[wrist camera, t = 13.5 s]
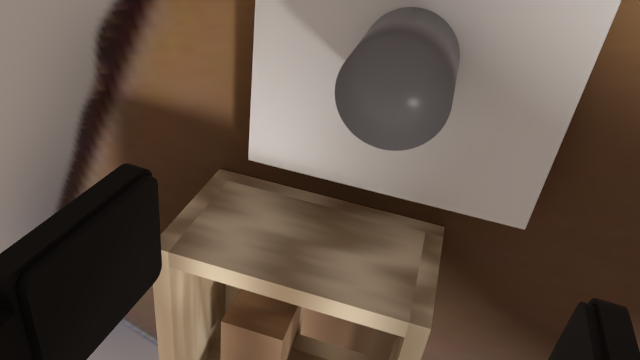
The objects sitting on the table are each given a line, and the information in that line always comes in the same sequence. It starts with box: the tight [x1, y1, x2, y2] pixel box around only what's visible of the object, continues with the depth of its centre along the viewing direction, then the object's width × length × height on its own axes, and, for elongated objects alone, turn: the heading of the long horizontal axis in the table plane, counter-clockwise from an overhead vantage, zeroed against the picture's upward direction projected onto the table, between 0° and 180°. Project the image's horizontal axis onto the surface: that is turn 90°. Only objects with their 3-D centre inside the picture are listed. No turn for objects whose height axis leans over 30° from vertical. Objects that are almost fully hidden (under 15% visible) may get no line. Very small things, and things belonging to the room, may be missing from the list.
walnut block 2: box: [300, 308, 373, 355], centre depth 30 cm, size 4×4×4 cm
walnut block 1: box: [220, 289, 301, 360], centre depth 34 cm, size 4×4×4 cm
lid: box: [248, 0, 621, 230], centre depth 22 cm, size 15×15×6 cm
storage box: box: [153, 169, 445, 360], centre depth 31 cm, size 14×14×8 cm
